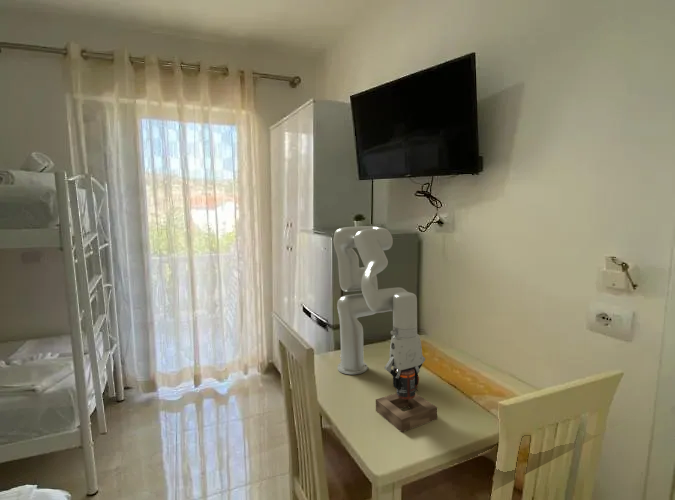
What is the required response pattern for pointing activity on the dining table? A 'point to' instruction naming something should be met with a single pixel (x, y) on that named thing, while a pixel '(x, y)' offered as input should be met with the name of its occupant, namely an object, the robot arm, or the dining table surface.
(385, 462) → the dining table surface
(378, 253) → the robot arm
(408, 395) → the supplement bottle
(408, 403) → the socket block
